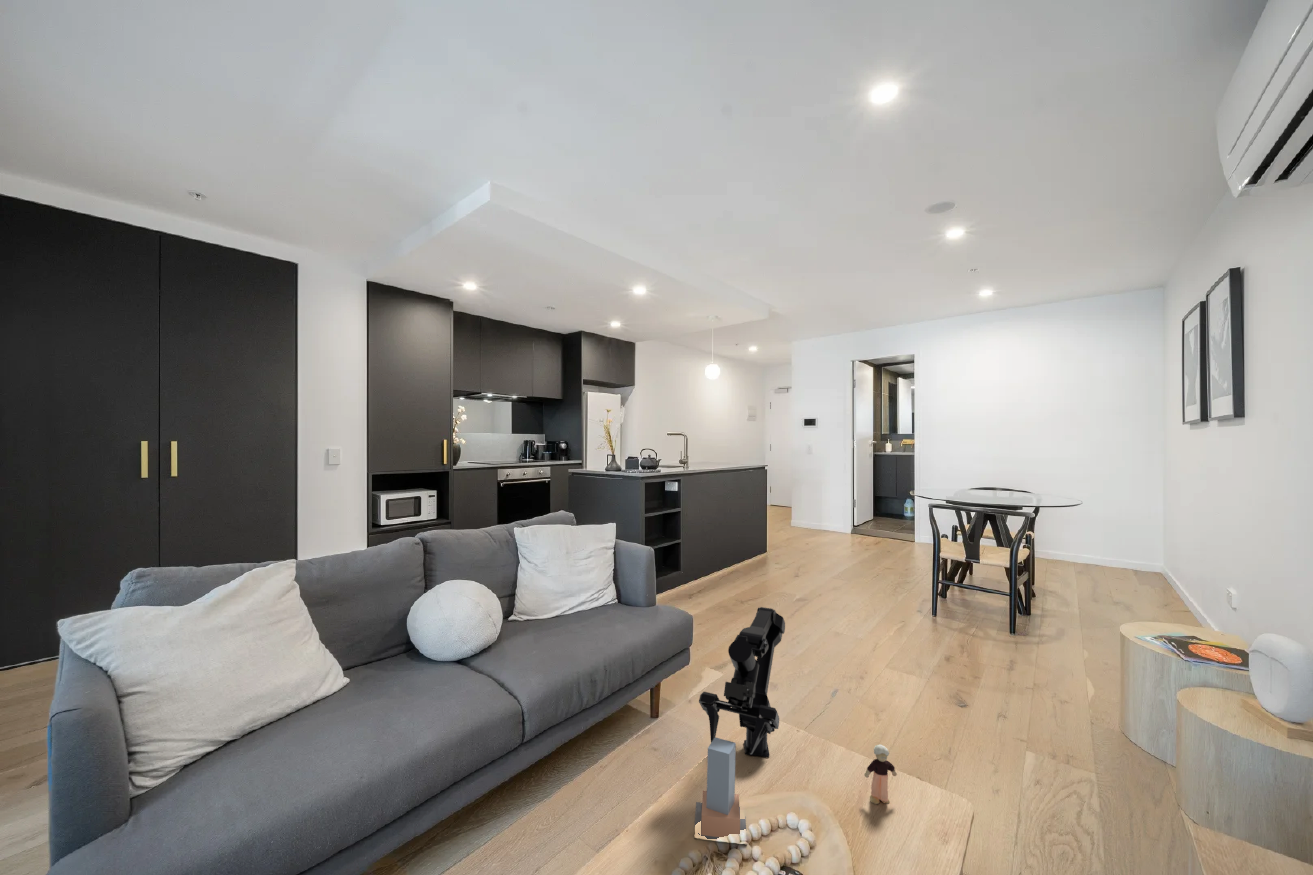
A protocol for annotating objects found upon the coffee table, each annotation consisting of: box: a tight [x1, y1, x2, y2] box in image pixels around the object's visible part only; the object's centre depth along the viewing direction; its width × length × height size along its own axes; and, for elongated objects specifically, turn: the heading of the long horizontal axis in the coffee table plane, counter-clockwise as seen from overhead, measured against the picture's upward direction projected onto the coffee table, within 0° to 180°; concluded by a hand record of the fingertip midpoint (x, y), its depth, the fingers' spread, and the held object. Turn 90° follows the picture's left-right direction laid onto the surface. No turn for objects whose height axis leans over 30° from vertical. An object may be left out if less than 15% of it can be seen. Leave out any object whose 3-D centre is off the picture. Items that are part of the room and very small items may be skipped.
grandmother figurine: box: [863, 744, 898, 805], centre depth 119 cm, size 8×4×13 cm, turn 105°
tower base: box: [694, 790, 747, 839], centre depth 109 cm, size 10×11×5 cm
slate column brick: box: [706, 736, 737, 815], centre depth 108 cm, size 5×5×12 cm
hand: (731, 748), depth 115 cm, fingers open, 9 cm apart
